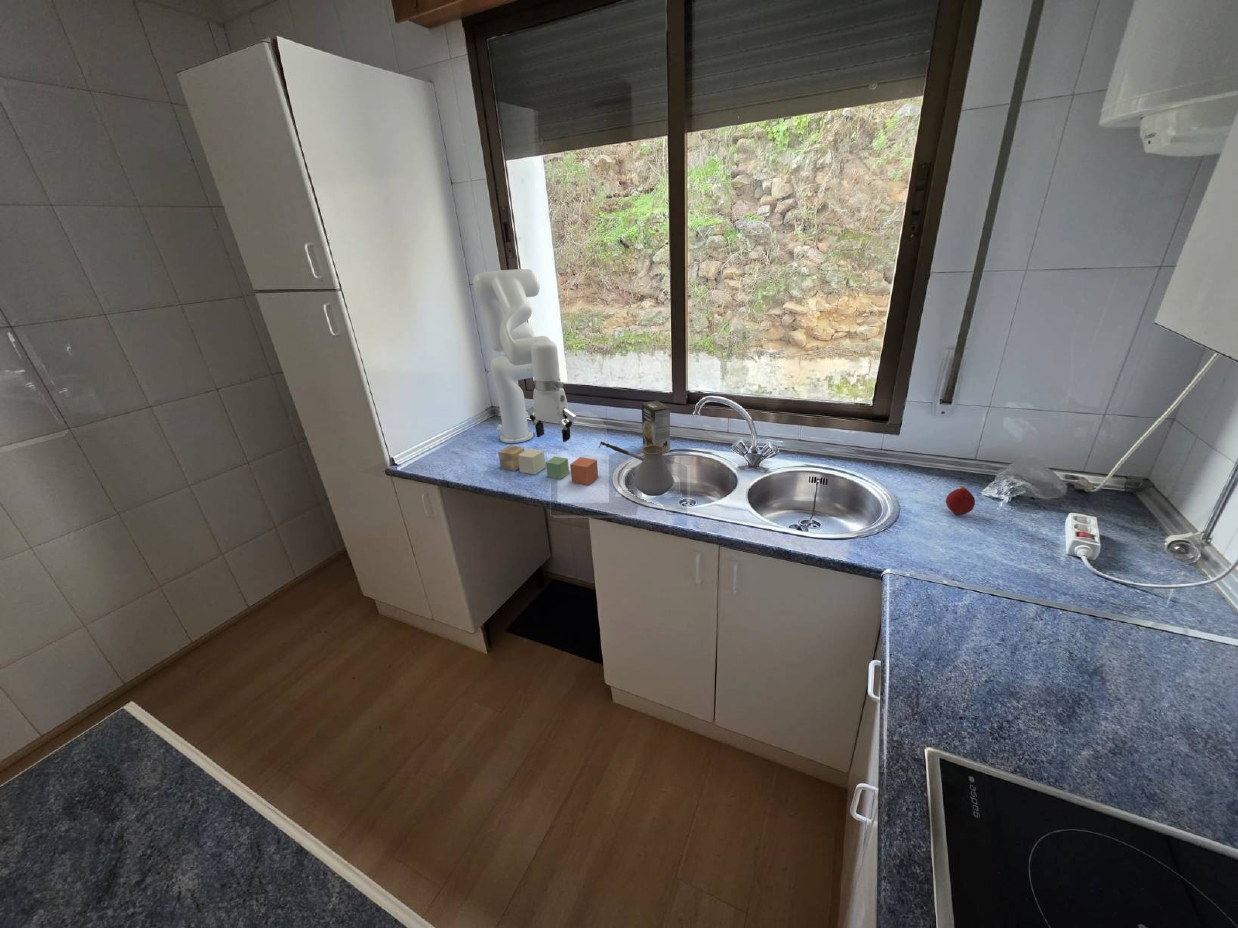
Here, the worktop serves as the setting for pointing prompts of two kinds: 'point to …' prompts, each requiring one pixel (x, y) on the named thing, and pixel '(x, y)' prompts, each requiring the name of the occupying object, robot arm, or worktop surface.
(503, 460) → the block
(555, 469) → the green block
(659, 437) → the coffee box
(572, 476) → the block
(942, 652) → the worktop surface
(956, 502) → the onion
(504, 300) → the robot arm
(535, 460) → the block
